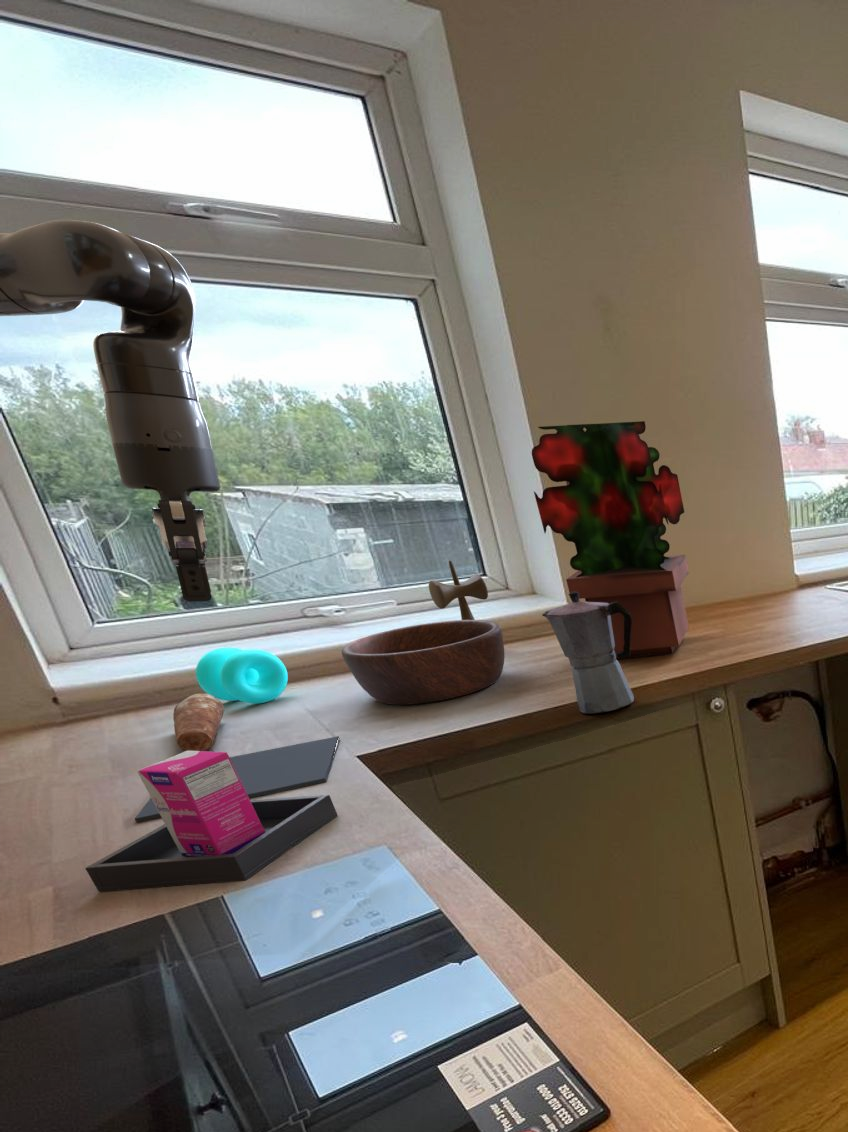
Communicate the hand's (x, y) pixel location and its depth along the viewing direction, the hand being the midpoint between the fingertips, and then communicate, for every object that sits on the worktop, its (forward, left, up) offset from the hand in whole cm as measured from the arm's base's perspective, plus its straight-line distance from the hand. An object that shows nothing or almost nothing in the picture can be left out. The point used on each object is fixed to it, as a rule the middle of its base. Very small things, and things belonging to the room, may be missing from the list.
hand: (198, 598), depth 90 cm
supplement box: (-7, -1, -29) cm, 30 cm away
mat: (-9, +27, -29) cm, 41 cm away
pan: (-7, -1, -29) cm, 30 cm away
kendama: (+22, +83, -30) cm, 91 cm away
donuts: (-15, +74, -30) cm, 81 cm away
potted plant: (+53, +60, -30) cm, 85 cm away
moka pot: (+40, +25, -30) cm, 56 cm away
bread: (-18, +53, -30) cm, 63 cm away
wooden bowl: (+15, +58, -30) cm, 67 cm away
